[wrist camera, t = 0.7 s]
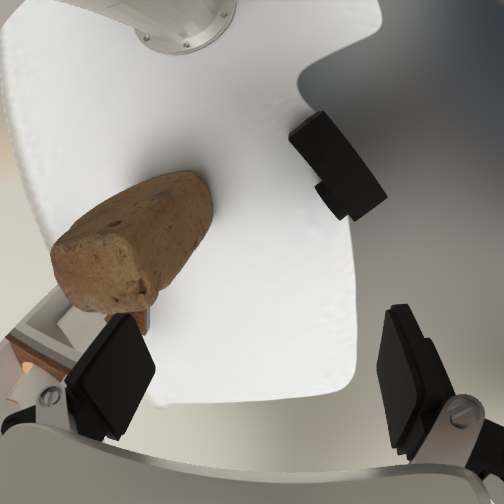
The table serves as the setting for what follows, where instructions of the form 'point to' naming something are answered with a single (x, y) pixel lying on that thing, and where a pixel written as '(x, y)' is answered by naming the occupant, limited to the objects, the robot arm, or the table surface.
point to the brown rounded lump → (132, 244)
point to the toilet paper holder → (48, 348)
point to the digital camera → (337, 168)
